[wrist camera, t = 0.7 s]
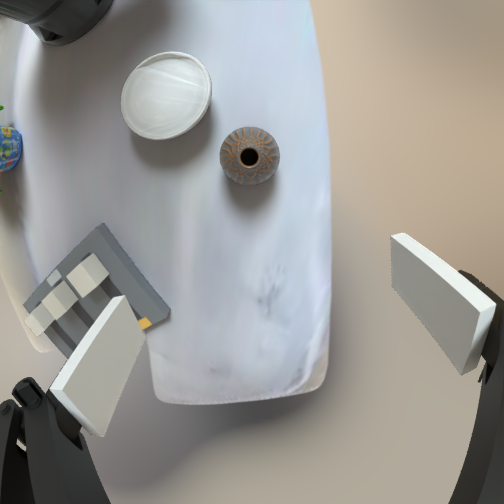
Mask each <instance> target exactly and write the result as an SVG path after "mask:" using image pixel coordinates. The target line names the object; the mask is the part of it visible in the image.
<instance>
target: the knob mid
mask: <svg viewBox="0 0 504 504" xmlns="http://www.w3.org/2000/svg"><path fill="white" fill-rule="evenodd" d="M77 300H78V298H77V296H76V295H75V294H74V292H73V291H72V290H71V289H70V287H69V286H68V285H67V283H66V282H65V281H64V280H63V281H62V282H61V283H60V284H59V285H58V286H57V287H56V288H54V289H53V290H52V291H51V292H50V293H49V294H48V295H47V296H46V297H45V298H44V299H43V300H42V301H41V302H42V303H43V304H44V306H45V307H46V308H47V309H48V311H49V312H50V313H51V315H52V316H53V317H54V318H55V319H56V320H57V319H58V318H60V317H61V316H62V315H63V314H64V313H65V312H67V311H68V309H69V308H70V307H71V306H72V305H73V304H74V303H75V302H76V301H77Z"/></svg>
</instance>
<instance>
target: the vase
mask: <svg viewBox="0 0 504 504" xmlns="http://www.w3.org/2000/svg"><path fill="white" fill-rule="evenodd" d="M279 160H280V152H279V147H278V145H277V143H276V141H275V139H274V138H273V137H272V136H271V135H270V134H269V133H268V132H266V131H264V130H262V129H260V128H256V127H243V128H240V129H237V130H235V131H233V132H232V133H231V134H229V135H228V136H227V138H226V139H225V140H224V142H223V144H222V146H221V149H220V163H221V166H222V168H223V170H224V172H225V173H226V175H227V176H228V177H229V178H230V179H232V180H233V181H235V182H237V183H239V184H243V185H256V184H260V183H262V182H264V181H266V180H268V179H269V178H270V177H271V176H272V175H273V174H274V173H275V171H276V169H277V167H278V165H279Z"/></svg>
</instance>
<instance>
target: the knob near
mask: <svg viewBox="0 0 504 504" xmlns="http://www.w3.org/2000/svg"><path fill="white" fill-rule="evenodd" d="M108 275H109V272H108V271H107V270H106V269H105V267H104V266H103V265H102V263H101V262H100V261H99V259H98V258H97V256H96V255H95V254H94V253H92V254H91V255H90V256H88V257H87V258H86V259H85V260H83V261H82V262H81V263H80V264H79V265H78V266H77V267H76V268H74V269H73V270H72V271H71V272H70V273H69V274H68V275H67V276H66V277H67V278H68V280H69V281H70V283H71V284H72V285H73V286H74V288H75V289H76V290H77V292H78V293H79V294H80V295H81V297H82V298H83V297H85V296H86V295H87V294H88V293H90V292H91V291H92V290H93V289H95V288H96V287H97V286H98V285H99V284H100V283H101V282H102V281H103V280H104V279H105V278H106V277H107V276H108Z"/></svg>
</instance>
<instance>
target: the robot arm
mask: <svg viewBox="0 0 504 504" xmlns="http://www.w3.org/2000/svg"><path fill="white" fill-rule="evenodd" d="M112 1H113V0H0V16H4V17H7V18H10V19H13V20H16V21H20V22H23V23H25V24H28V25H29V26H30V28H31V29H32V30H33V31H34V33H35V34H36V35H37V36H38V37H39V39H40V40H42V41H43V42H45V43H48V44H51V45H55V46H59V45H65V44H68V43H70V42H72V41H74V40H76V39H78V38H80V37H81V36H83V35H84V34H85V33H87V32H88V31H89V30H90V29H91V28H92V27H94V26H95V25H96V24H97V23H98V21H99V20H100V19H101V18H102V17H103V16H104V14H105V13H106V11H107V10H108V8H109V7H110V5H111V3H112ZM390 240H391V261H392V263H391V264H392V287H393V289H394V290H395V291H396V292H397V293H398V294H399V296H400V297H401V298H402V299H403V300H404V301H405V303H406V304H407V305H408V306H409V308H410V309H411V310H412V311H413V312H414V314H415V315H416V316H417V317H418V319H419V320H420V321H421V322H422V324H423V325H424V326H425V328H426V329H427V330H428V331H429V332H430V334H431V335H432V337H433V338H434V339H435V340H436V342H437V343H438V344H439V346H440V347H441V348H442V350H443V351H444V353H445V354H446V355H447V357H448V358H449V359H450V361H451V362H452V364H453V365H454V366H455V367H456V369H457V371H458V372H459V373H460V374H461V375H463V374H465V373H467V372H469V371H471V370H473V369H475V368H476V367H477V365H478V362H479V359H480V357H481V355H482V357H483V358H484V359H485V360H486V363H485V365H484V368H483V370H482V373H481V375H480V377H479V380H478V382H481V380H482V386H481V393H480V399H479V405H478V410H477V415H476V420H475V425H474V429H473V433H472V437H471V441H470V444H469V448H468V451H467V455H466V458H465V461H464V464H463V467H462V470H461V474H460V476H459V479H458V482H457V484H456V487H455V489H454V492H453V494H452V497H451V499H450V501H449V504H504V301H503V300H502V299H501V298H500V297H499V296H498V295H496V294H495V293H494V292H493V291H492V290H490V289H489V288H488V287H485V285H484V284H483V283H482V282H479V280H478V279H477V278H475V277H474V276H473V275H472V274H469V273H467V272H464V271H461V270H459V271H456V270H455V269H453V268H452V267H451V266H450V265H448V264H447V263H446V262H444V261H443V260H442V259H440V258H439V257H438V256H436V255H435V254H434V253H432V252H431V251H430V250H428V249H427V248H425V247H424V246H422V245H421V244H420V243H418V242H417V241H415V240H414V239H413V238H411V237H410V236H408V235H407V234H405V233H404V232H403V233H399V234H395V235H391V236H390ZM145 340H146V336H145V334H144V332H143V331H142V329H141V327H140V325H139V323H138V321H137V319H136V317H135V315H134V313H133V311H132V309H131V307H130V305H129V303H128V300H127V298H126V296H125V295H123V296H118V297H113V298H112V300H111V301H110V302H109V304H108V305H107V306H106V308H105V309H104V310H103V312H102V313H101V314H100V316H99V317H98V318H97V320H96V321H95V322H94V324H93V325H92V326H91V328H90V329H89V331H88V332H87V333H86V335H85V336H84V338H83V339H82V340H81V342H80V343H79V345H78V346H77V348H76V349H75V350H74V352H73V353H72V355H71V356H70V357H69V358H68V360H67V361H66V363H65V365H64V367H62V369H61V370H60V373H59V374H58V375H57V376H56V378H55V380H54V381H53V383H52V384H51V386H50V387H49V389H48V391H47V392H46V394H45V393H44V392H43V390H42V389H41V388H40V387H39V385H38V384H37V383H36V382H35V380H34V379H33V378H32V377H27V378H24V379H23V380H21V381H20V382H18V383H17V384H16V386H15V387H14V389H13V391H12V395H13V396H14V397H15V399H16V400H17V401H18V402H19V404H20V405H21V406H22V407H19V406H18V405H17V404H16V403H15V401H14V400H12V399H9V400H6V401H4V402H3V403H1V404H0V504H111V503H110V501H109V499H108V497H107V495H106V492H105V490H104V488H103V486H102V483H101V481H100V479H99V476H98V474H97V471H96V469H95V466H94V464H93V461H92V458H91V455H90V453H89V450H88V447H87V444H86V441H85V438H84V436H83V435H82V433H80V429H81V427H83V428H84V429H85V430H86V431H87V432H88V433H89V434H91V435H95V436H102V437H104V436H105V433H106V430H107V428H108V426H109V423H110V420H111V418H112V415H113V413H114V411H115V408H116V406H117V403H118V401H119V399H120V396H121V394H122V391H123V389H124V387H125V384H126V382H127V380H128V378H129V375H130V373H131V371H132V368H133V366H134V364H135V362H136V359H137V357H138V355H139V353H140V351H141V348H142V346H143V344H144V342H145ZM17 439H18V440H19V441H20V442H21V443H22V444H23V445H24V446H26V451H24V450H22V449H21V448H20V447H19V446H18V445H17V444H16V443H17Z"/></svg>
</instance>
